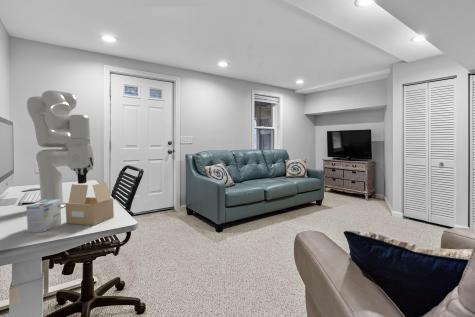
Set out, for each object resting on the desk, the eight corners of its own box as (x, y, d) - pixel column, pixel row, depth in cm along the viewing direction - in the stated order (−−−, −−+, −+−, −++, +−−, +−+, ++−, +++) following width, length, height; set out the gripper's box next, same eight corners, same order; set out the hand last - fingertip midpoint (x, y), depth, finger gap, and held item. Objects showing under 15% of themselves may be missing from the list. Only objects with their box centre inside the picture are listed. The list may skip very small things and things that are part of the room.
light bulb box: (45, 223, 106) (44, 199, 105) (62, 223, 106) (61, 199, 106) (26, 232, 95) (25, 205, 95) (45, 232, 96) (43, 205, 95)
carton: (65, 223, 106) (64, 203, 105) (88, 215, 118) (87, 196, 118) (94, 225, 103) (93, 204, 102) (114, 216, 115) (113, 198, 115)
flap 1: (69, 202, 105) (68, 202, 104) (72, 184, 106) (71, 184, 106) (84, 203, 103) (84, 203, 103) (88, 185, 105) (87, 184, 104)
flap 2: (92, 185, 104) (92, 184, 104) (105, 182, 112) (106, 182, 112) (97, 203, 104) (97, 202, 104) (110, 198, 112) (110, 198, 112)
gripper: (58, 142, 107) (61, 184, 108) (88, 142, 104) (90, 184, 105) (73, 143, 114) (75, 181, 115) (101, 142, 111) (102, 182, 112)
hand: (82, 183), depth 110 cm, fingers closed
